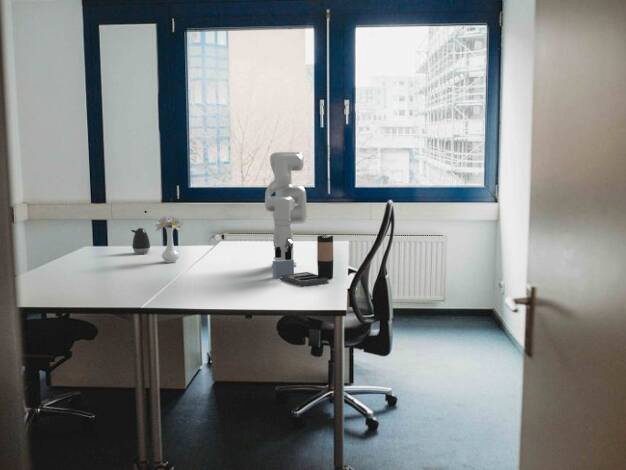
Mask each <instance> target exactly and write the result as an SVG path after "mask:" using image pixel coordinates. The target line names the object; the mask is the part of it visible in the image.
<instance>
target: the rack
mask: <svg viewBox="0 0 626 470" xmlns="http://www.w3.org/2000/svg"><path fill="white" fill-rule="evenodd" d="M280 280H281V281H283V280H284V281H283V282H286V281H287V282H286V283H289V282H290V283H289V284H292V283H293V285H295V284H296V286H298V285H300V286H299V287H301V286H302V287H301V288H304V287H303V286H306V287H313V285H314V286H318V285H319V286H321V285H327V284H330V282H329V281H328V279H327V278H326V277H323V276H319V275H318V274H316V273H312V272H309V271H305V272H294V274H287V275H282V278H280Z"/></svg>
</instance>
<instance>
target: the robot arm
mask: <svg viewBox="0 0 626 470" xmlns="http://www.w3.org/2000/svg"><path fill="white" fill-rule="evenodd" d="M304 159H305V157H304V156H303V153H302V152H300V151H277V152H273V153H272V154H271V155H270V157H269V161H270V167H271V170H272V173H273V176H274V179H273V180H272V181H271V182H270V183H269V185H267V187H266V190H265V194H264V195H265V196H264V207H265V209H266V211H268V212H271V213H272V217H273V224H274V225H273V226H274V228H273V240H272V241H273V246H274V257H273V261H277V260H291V259H293V260H294V232H293V229H292V228H291V226H292V224H293V225H297V224H299V225H301V224H304V223H306V221H307V218H308V217H307V214H308V213H307V191H306V189H305V187H304V186H301V185H293V183H292V180H293V178H292V172H300V171H303V168H304V162H305V161H304ZM273 194H275V195H273ZM271 265H272V266H273V263H272V264H271ZM296 266H297V263H296V262H295V261H294V267H296Z"/></svg>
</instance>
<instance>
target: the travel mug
mask: <svg viewBox="0 0 626 470" xmlns="http://www.w3.org/2000/svg"><path fill="white" fill-rule="evenodd" d="M316 239H317V241H316V242H317V243H316V244H317V248H316V249H317V252H316V253H317V255H316V257H317V258H316V260H317V261H316V262H317V275H319V276H323V277H326V278H327V280H332V279H333V278H334V235H330V236H328V235H325V234H324V235H323V234H322V235H317V237H316Z"/></svg>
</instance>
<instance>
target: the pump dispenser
mask: <svg viewBox="0 0 626 470" xmlns="http://www.w3.org/2000/svg"><path fill="white" fill-rule="evenodd" d="M130 232H132V233H134V235H133V239H132V245H131V247H132V249H133V252H134V253H135V254H137V255H144V254H143V253H146V254H147V253H148V252H149V251H150V248H151V243H150V238H149V235H148V233H147V231H146V230H145V229H144V228H143V227H138V228H137V229H136V230H134V229H131V231H130Z"/></svg>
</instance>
